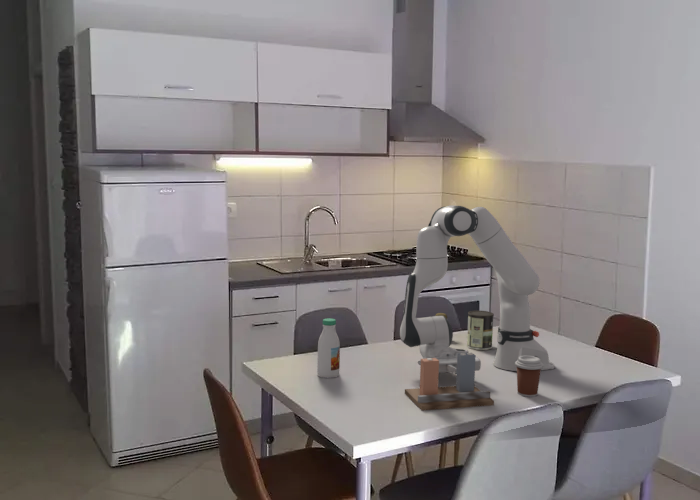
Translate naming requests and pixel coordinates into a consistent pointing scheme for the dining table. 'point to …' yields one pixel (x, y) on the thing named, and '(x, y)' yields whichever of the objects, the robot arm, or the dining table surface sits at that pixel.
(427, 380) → the tile one
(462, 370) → the tile two
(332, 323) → the milk bottle
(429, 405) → the board
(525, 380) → the coffee cup
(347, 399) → the dining table surface
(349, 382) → the dining table surface
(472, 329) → the coffee can
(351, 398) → the dining table surface
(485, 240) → the robot arm
